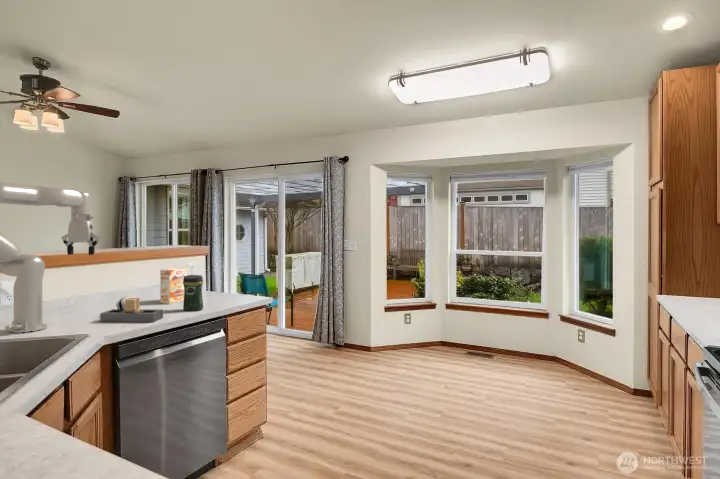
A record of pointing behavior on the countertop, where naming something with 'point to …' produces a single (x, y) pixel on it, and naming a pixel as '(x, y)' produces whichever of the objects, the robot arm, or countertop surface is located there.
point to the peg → (132, 305)
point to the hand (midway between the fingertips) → (81, 254)
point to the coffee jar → (193, 293)
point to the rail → (131, 315)
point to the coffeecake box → (172, 285)
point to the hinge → (123, 302)
